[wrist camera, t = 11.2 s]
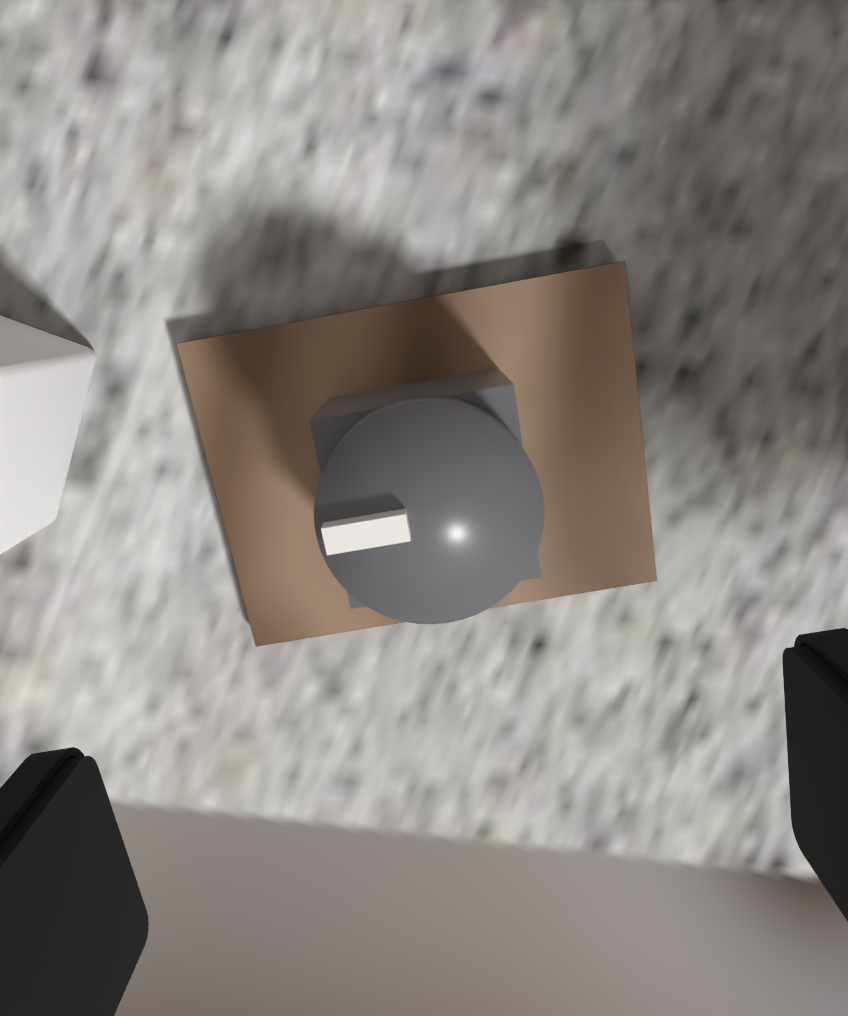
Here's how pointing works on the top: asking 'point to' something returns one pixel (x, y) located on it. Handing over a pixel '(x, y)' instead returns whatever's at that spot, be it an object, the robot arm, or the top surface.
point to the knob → (427, 497)
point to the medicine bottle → (37, 424)
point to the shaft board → (414, 358)
